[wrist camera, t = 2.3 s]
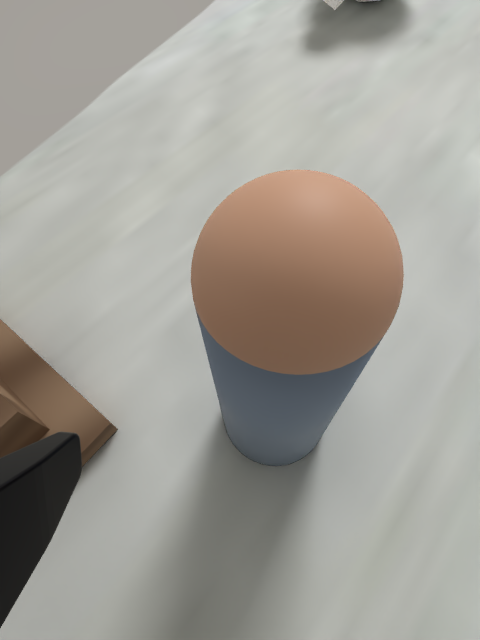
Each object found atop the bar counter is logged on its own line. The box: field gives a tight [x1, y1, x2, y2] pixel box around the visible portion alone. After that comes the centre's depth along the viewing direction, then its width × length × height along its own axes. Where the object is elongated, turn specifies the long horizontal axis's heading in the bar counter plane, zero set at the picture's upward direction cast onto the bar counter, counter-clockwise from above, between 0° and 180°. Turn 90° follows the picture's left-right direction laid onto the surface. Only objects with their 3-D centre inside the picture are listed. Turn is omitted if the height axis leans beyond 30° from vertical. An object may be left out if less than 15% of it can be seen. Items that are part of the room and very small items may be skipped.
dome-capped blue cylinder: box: [191, 170, 404, 466], centre depth 14 cm, size 5×5×14 cm
